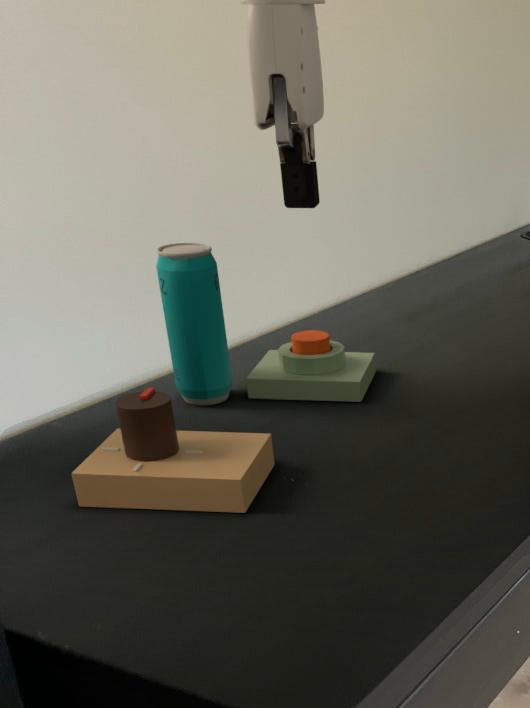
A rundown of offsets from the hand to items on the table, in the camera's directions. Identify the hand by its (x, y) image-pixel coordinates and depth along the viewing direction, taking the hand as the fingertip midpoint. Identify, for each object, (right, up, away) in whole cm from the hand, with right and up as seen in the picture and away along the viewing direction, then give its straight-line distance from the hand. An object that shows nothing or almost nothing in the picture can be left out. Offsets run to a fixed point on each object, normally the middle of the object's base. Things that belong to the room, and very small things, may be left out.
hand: (302, 206), depth 98 cm
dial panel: (-8, -30, -12) cm, 33 cm away
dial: (-10, -27, -14) cm, 32 cm away
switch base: (0, -15, +10) cm, 18 cm away
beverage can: (-11, -18, +6) cm, 22 cm away
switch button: (0, -12, +8) cm, 15 cm away
